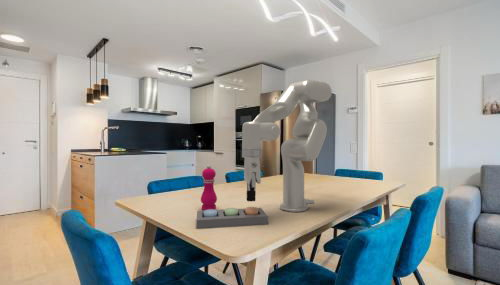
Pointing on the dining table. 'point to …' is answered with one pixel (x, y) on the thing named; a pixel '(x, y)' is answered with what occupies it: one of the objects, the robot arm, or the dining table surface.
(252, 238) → the dining table surface
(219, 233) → the dining table surface
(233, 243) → the dining table surface
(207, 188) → the pepper mill
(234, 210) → the sage button
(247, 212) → the terracotta button
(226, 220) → the button panel
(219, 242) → the dining table surface
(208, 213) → the blue button
